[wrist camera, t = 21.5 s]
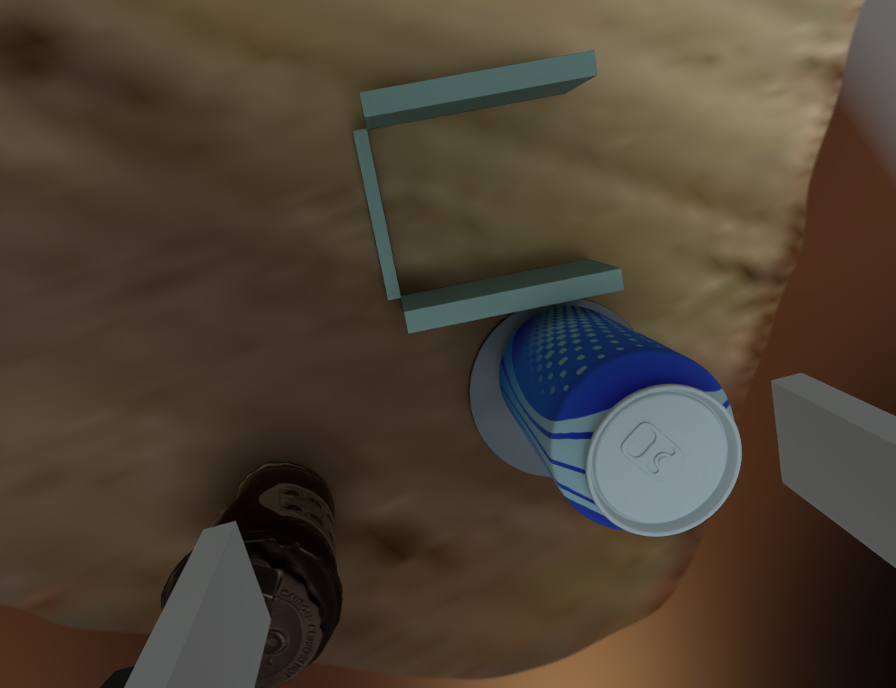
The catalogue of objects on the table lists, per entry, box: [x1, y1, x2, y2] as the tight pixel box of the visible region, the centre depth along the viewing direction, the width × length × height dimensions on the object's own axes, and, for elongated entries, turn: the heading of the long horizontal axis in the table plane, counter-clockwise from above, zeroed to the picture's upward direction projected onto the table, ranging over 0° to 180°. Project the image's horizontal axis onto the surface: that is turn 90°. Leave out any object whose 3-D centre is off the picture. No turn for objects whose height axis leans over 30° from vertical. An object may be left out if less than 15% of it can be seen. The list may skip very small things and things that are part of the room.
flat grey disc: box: [469, 299, 634, 477], centre depth 43 cm, size 12×12×1 cm
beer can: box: [499, 306, 742, 536], centre depth 35 cm, size 8×8×16 cm
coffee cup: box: [161, 463, 343, 688], centre depth 37 cm, size 9×8×13 cm
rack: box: [353, 50, 624, 333], centre depth 37 cm, size 12×13×6 cm
